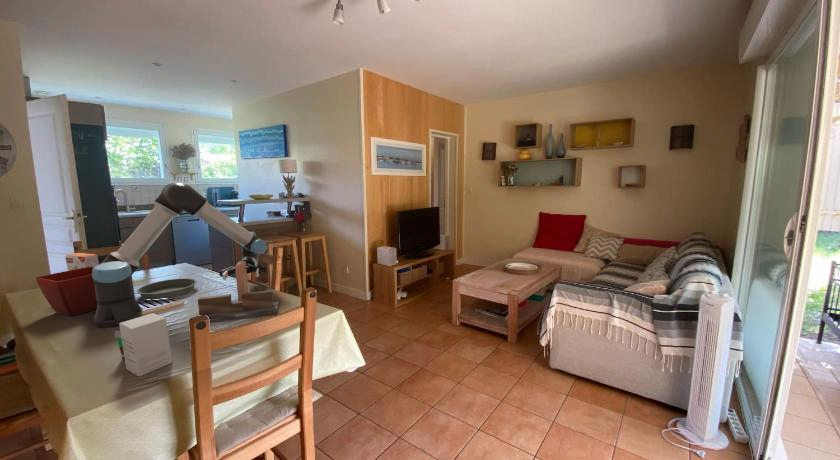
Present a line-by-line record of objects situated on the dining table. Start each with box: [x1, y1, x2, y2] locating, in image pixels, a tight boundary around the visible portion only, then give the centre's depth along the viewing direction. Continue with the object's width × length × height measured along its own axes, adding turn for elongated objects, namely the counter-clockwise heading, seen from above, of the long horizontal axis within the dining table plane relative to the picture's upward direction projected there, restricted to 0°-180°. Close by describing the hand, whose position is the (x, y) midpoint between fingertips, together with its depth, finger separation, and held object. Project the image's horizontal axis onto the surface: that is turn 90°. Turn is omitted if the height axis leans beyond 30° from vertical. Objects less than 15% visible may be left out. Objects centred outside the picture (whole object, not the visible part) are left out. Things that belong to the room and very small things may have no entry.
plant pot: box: [35, 267, 97, 317], centre depth 152 cm, size 19×19×17 cm
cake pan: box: [136, 277, 198, 301], centre depth 174 cm, size 25×25×4 cm
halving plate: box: [234, 261, 249, 301], centre depth 161 cm, size 9×3×18 cm, turn 18°
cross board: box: [193, 289, 280, 323], centre depth 147 cm, size 14×32×8 cm, turn 108°
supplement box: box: [118, 312, 173, 377], centre depth 105 cm, size 9×9×15 cm
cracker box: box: [64, 252, 100, 271], centre depth 172 cm, size 14×6×21 cm, turn 73°
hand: (240, 275), depth 158 cm, fingers open, 13 cm apart
